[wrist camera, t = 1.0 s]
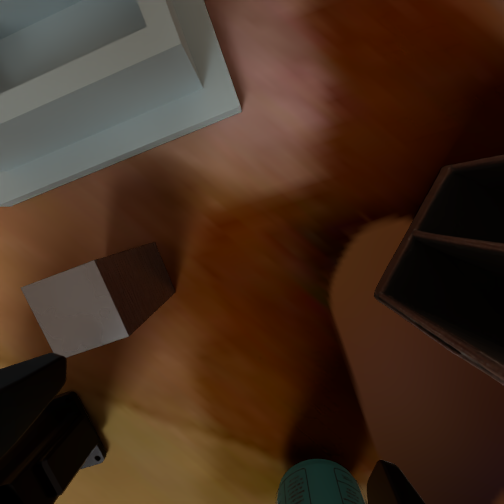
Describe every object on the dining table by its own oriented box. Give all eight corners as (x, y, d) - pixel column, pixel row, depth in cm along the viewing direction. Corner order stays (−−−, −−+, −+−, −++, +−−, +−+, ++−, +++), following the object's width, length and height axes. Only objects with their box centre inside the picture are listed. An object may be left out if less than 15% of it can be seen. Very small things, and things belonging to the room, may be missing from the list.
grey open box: (9, 206, 19) (-90, 205, 14) (-74, 35, 18) (-223, -43, 12) (241, 111, 18) (231, 68, 12) (172, -88, 16) (125, -241, 11)
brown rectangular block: (127, 308, 20) (57, 360, 13) (105, 260, 20) (20, 287, 13) (175, 292, 20) (128, 336, 13) (154, 242, 19) (94, 260, 12)
